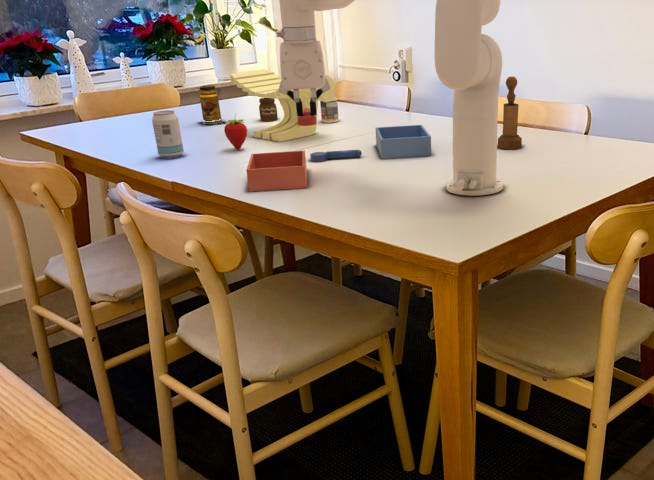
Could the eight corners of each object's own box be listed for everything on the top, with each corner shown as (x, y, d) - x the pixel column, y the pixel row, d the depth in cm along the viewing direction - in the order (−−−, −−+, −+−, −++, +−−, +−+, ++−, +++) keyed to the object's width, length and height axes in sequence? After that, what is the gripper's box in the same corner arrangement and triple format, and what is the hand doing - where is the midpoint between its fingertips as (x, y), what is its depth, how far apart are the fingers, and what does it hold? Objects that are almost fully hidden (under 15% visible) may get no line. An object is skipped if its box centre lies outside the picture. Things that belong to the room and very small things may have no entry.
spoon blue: (361, 155, 199) (361, 147, 198) (362, 158, 195) (362, 151, 194) (310, 158, 198) (309, 150, 197) (310, 162, 194) (309, 154, 193)
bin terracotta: (306, 187, 171) (304, 166, 169) (249, 191, 170) (246, 169, 168) (306, 170, 186) (304, 150, 184) (254, 173, 185) (251, 153, 183)
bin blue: (431, 155, 195) (431, 136, 193) (381, 158, 194) (380, 139, 192) (422, 142, 211) (421, 124, 208) (376, 145, 209) (375, 127, 207)
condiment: (205, 126, 249) (199, 88, 243) (199, 122, 255) (193, 85, 250) (226, 123, 251) (221, 86, 246) (219, 119, 258) (214, 83, 253)
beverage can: (189, 154, 209) (181, 110, 203) (176, 159, 203) (168, 114, 198) (167, 153, 211) (159, 110, 205) (154, 159, 205) (145, 114, 199)
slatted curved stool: (338, 135, 224) (333, 73, 216) (296, 145, 214) (290, 80, 206) (278, 125, 243) (272, 68, 235) (238, 133, 234) (229, 73, 225)
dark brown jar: (259, 119, 256) (254, 82, 250) (277, 117, 257) (273, 81, 252) (261, 122, 251) (257, 84, 245) (280, 120, 252) (275, 83, 247)
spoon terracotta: (299, 116, 183) (298, 107, 182) (316, 115, 183) (316, 106, 182) (297, 126, 171) (296, 117, 170) (316, 125, 171) (315, 116, 170)
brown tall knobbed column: (520, 149, 198) (523, 78, 189) (496, 149, 199) (498, 78, 191) (522, 144, 203) (524, 74, 195) (498, 144, 205) (500, 75, 196)
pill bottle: (319, 121, 248) (316, 90, 243) (335, 119, 250) (332, 88, 245) (325, 123, 243) (322, 92, 239) (341, 121, 245) (339, 90, 241)
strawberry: (239, 146, 216) (234, 110, 211) (254, 149, 211) (249, 113, 207) (222, 149, 212) (217, 113, 208) (237, 153, 208) (232, 116, 203)
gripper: (263, 38, 164) (273, 123, 173) (334, 34, 165) (340, 119, 174) (265, 35, 171) (274, 118, 179) (334, 32, 172) (340, 114, 181)
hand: (307, 118), depth 177 cm, fingers closed on spoon terracotta, 2 cm apart
